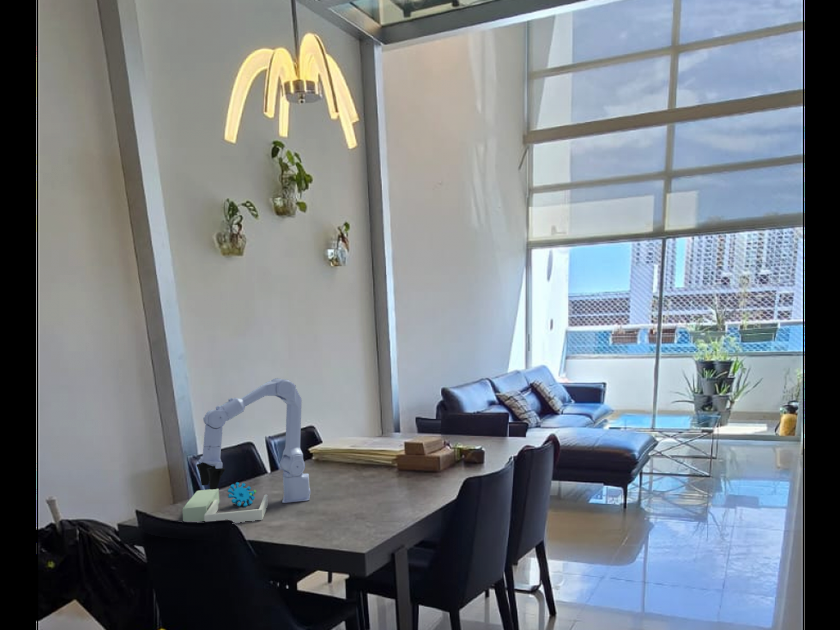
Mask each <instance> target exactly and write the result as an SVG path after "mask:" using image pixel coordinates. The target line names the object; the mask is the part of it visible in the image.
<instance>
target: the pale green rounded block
mask: <svg viewBox="0 0 840 630" xmlns="http://www.w3.org/2000/svg"><path fill="white" fill-rule="evenodd" d="M216 499H218V505H219V504H220V490H219V488H217V489H213V490H210V488H209V489H202V490H201V489H200V490H196V491H195V493H194V494H192V496H191V497H190V499H189V500H188V501H187V503H186V504H184V506H183V507H182V522H183V521H204V515H205V513H206V512H207V510H208V509H209V508H210V506H211V505H212V503H213V502H214V500H216Z"/></svg>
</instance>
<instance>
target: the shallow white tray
mask: <svg viewBox="0 0 840 630" xmlns="http://www.w3.org/2000/svg"><path fill="white" fill-rule="evenodd" d="M268 507H269V497H268V494H264V495H263V498H262V501H261V503H260V506H259V508H258V509H257V508H256V509H246V510H236V511H226V512H218V510H219V504H218V499H216V500H214V502H213V503H212V505H211V506H210V508H209V509H208V510H207V512H206V513H205V515H204V521H216V520H225V519H228V520H232V521H234V522H235V523H234V524H239V523H240V522H242V523H246V522H245V521H252V522H256V521H255V520H261V521H263V520H262V519H264V516H265V514H266V512H267V509H266V508H268Z"/></svg>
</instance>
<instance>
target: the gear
mask: <svg viewBox="0 0 840 630" xmlns="http://www.w3.org/2000/svg"><path fill="white" fill-rule="evenodd" d="M239 485H240V482H238V481H237V482H235V484H234V483H232V484H231V485H230V486H229V488H228V489H227V493H229V494H228V495H227V498H229V499H231V503H232V504H234V505H236V506H238V507H241V506H243V507H245V508H246V506H247V507H248V505H249V506H250V504H251V505H252V504H253V501H254V500H255V499H256V496H254V495H255V494H256V493H257V490H256V489H253V490H251V489H252V488H251V486H250V485H247V487H245V486H246V483H245V482H242V483H241V485H240V486H239ZM242 503H243V505H242Z"/></svg>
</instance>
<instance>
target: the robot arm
mask: <svg viewBox="0 0 840 630" xmlns="http://www.w3.org/2000/svg"><path fill="white" fill-rule="evenodd" d="M296 387H297V386H296V384H295V383H293V382H292V381H291V380H289V379H287V378H286V379H285V378H278V377H277V378H273V379H271V380H269V381H266V382H265V383H263V384H261V385H260V386H258V387H256V388H255V389H253V390H252V391H250V392H249V393H247V394H245V395H244V396H242V397H241V398H239V397H230V398H228V399H227V400H228V401H227V402H224V403H223V404H222V405H216V406H215V409H211V410H208V411H207V412H205V415H204V417H203V423H204V425H205V427H204V434H203V448H202V456H199V457H200V458H199V459H198V462H199V463H197V464H196V468H197V471H198V474H199V477H200V485H201V486H208V485H209V489H210V490H213V489H218V487H219V484H220V480H221V478H222V476H223V474H224V472H225V471H226V468H225V467H223V466H224V465H223V462H222V459H221V452H222V451H221V450H222V442H223V426H225V424H226V423H227V422H228V421H230V420H231V419H234V418H235V417H236V416H238V415H240V414H242V413H243V412H244V411H245V408H246V407H247V406H249V405H251V404H253V403H255V402H256V401H257V402H258V401H259V400H260V399H263V398H264V397H267V396H269V397H277V398H279V399H280V400H281V401H283V403H284V404H286V416H285V417H286V418H285V419H286V420H285V421H286V422H285V443H284V444H285V447H284V450H282V455H281V456H282V457H281V459H280V462H279V467H280V468H281V470H282V471H283V472H282V481H283V482H282V484H283V485H282V487H283V497H282V503H283V504H286V503H296V502H297V503H298V502H306V501H310V497H311V488H310V474H309V473H304V471H305V469H306V463H305V461H304V453H303V451H302V449H301V431H302V430H301V428H302V427H301V426H302V403H303V402H302V401H303V400H302V396H301V395H300V394H299V392H298V389H297V388H296Z"/></svg>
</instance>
